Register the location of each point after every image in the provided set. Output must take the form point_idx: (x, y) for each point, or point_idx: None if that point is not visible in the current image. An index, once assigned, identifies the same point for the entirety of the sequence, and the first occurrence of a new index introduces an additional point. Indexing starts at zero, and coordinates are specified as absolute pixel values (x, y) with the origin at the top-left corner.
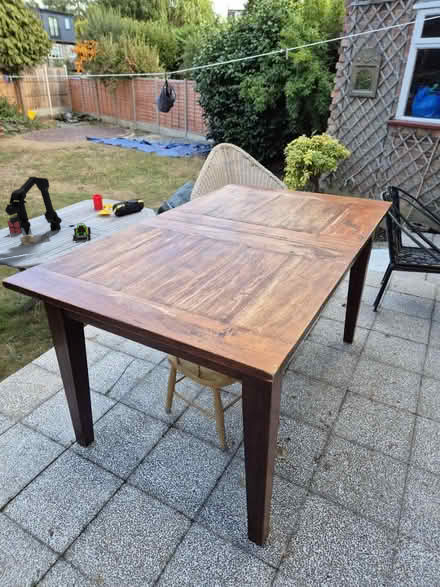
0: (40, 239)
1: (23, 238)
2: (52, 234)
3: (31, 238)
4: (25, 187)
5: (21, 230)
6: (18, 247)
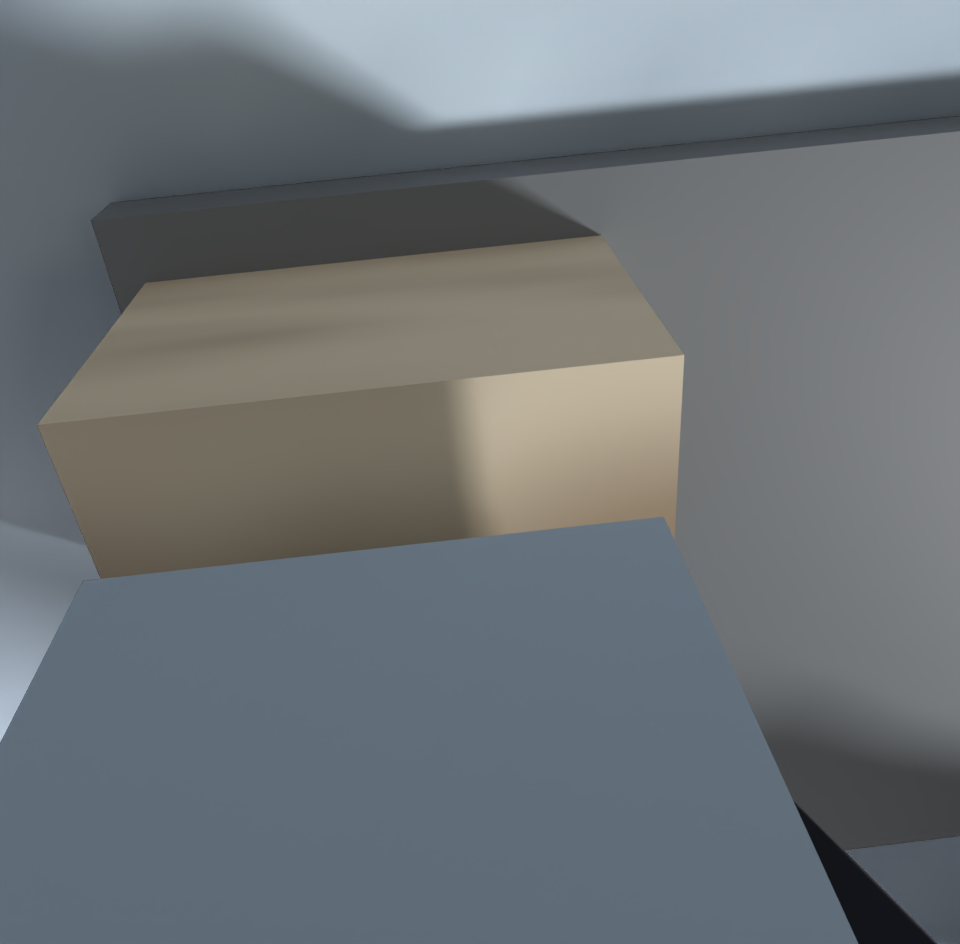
0: None
1: (124, 470)
2: (925, 874)
3: None
4: None
5: (693, 694)
6: (122, 3)
